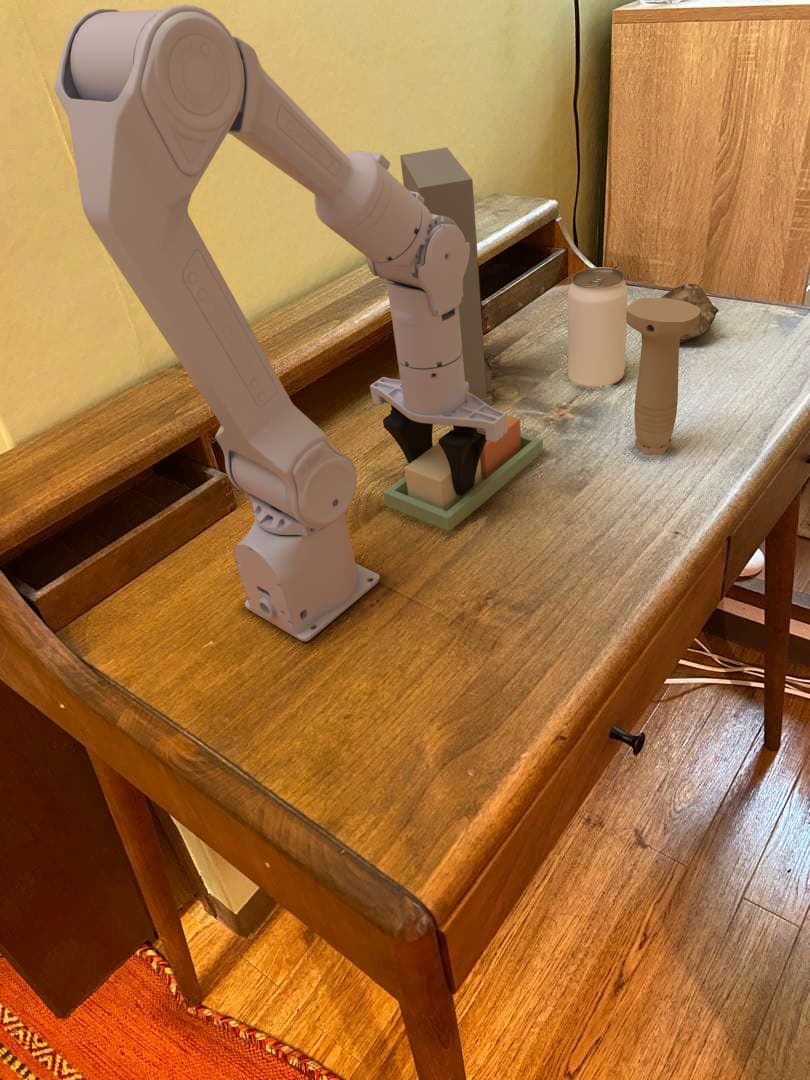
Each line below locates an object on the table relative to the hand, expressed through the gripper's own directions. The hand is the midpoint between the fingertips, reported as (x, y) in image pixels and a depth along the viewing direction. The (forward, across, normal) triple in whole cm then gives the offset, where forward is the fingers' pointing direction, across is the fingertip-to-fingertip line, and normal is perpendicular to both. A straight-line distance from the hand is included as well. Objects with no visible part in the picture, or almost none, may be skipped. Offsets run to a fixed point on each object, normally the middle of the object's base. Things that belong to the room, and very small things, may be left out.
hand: (444, 482), depth 80 cm
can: (+2, 0, -28) cm, 28 cm away
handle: (+2, -13, -17) cm, 22 cm away
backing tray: (+2, 0, -3) cm, 4 cm away
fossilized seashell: (+2, -3, -43) cm, 43 cm away
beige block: (+1, 0, 0) cm, 1 cm away
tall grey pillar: (+2, +13, -19) cm, 23 cm away
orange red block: (+1, 0, -7) cm, 7 cm away
